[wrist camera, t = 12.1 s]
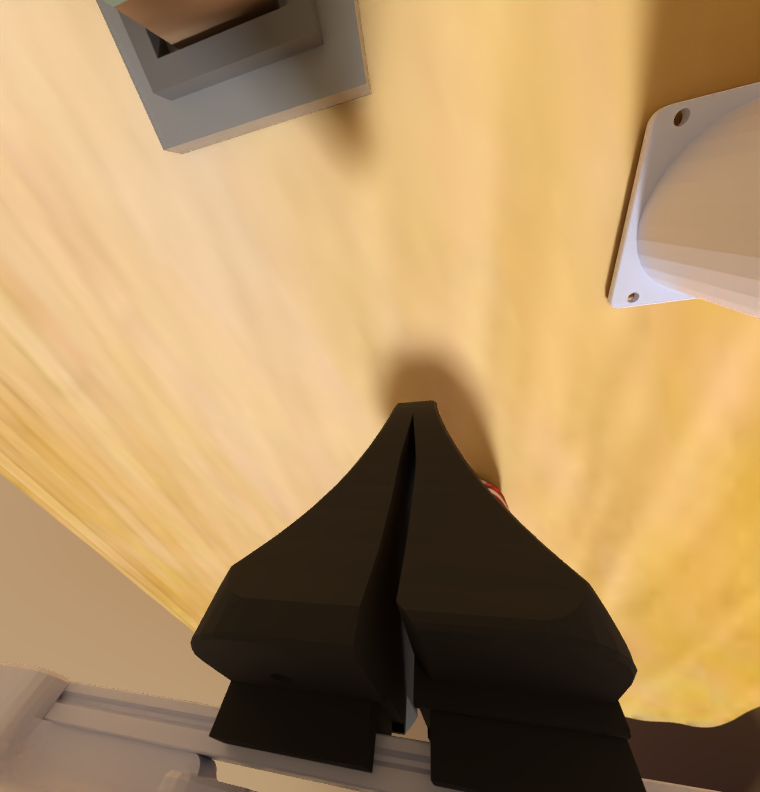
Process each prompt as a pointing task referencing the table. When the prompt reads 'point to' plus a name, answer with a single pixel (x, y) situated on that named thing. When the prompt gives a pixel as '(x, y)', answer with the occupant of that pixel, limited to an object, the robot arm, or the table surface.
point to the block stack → (192, 16)
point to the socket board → (245, 71)
